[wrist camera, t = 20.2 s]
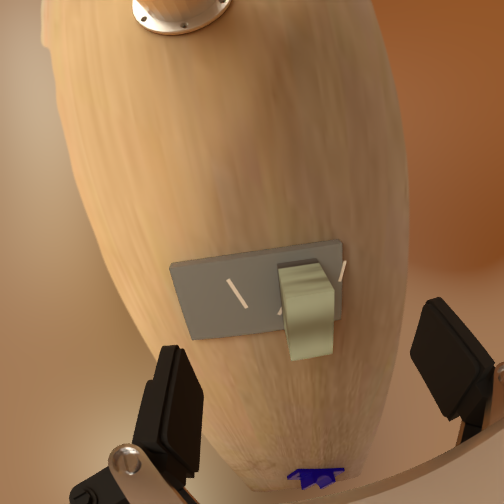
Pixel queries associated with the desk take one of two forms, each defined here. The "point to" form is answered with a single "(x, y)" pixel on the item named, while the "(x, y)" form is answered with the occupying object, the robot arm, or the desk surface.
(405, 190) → the desk surface
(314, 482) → the mounting bracket
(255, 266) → the board
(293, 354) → the block
